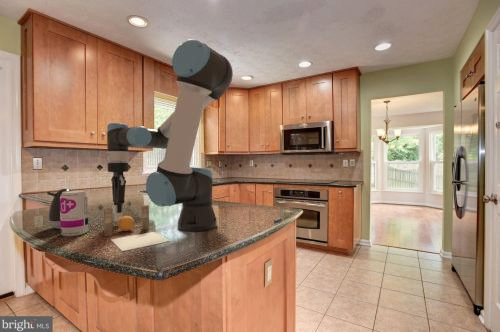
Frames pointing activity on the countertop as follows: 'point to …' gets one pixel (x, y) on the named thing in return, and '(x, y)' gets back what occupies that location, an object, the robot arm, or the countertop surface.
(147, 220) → the post right
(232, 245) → the countertop surface
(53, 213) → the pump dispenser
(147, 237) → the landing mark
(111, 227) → the post left
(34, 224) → the countertop surface
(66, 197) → the supplement can
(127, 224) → the ball
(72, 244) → the countertop surface
